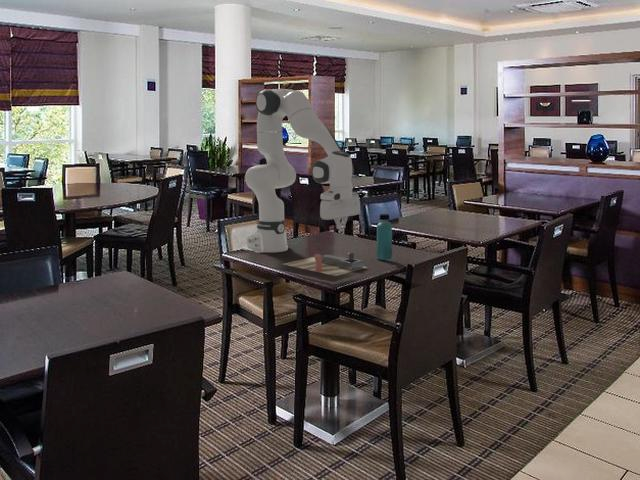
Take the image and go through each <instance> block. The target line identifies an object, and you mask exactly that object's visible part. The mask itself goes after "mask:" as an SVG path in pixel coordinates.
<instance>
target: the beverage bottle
mask: <svg viewBox="0 0 640 480" xmlns="http://www.w3.org/2000/svg"><path fill="white" fill-rule="evenodd" d="M378 219H379V220H381V221H379V222H378V223H377V224H376V258H377V259H378V260H382V261H383V260H384V261H386V260H387V261H388V260H389V261H390V260H391V259H392V258H393V225H392V223H390V222H389V221H388V220H390V214H389V213H381V214H379V218H378ZM385 220H386V221H385Z"/></svg>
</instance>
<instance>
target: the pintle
mask: <svg viewBox="0 0 640 480" xmlns="http://www.w3.org/2000/svg"><path fill="white" fill-rule="evenodd" d="M354 257H355V253H354V252H348V258H349V262H354V259H355V258H354Z"/></svg>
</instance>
